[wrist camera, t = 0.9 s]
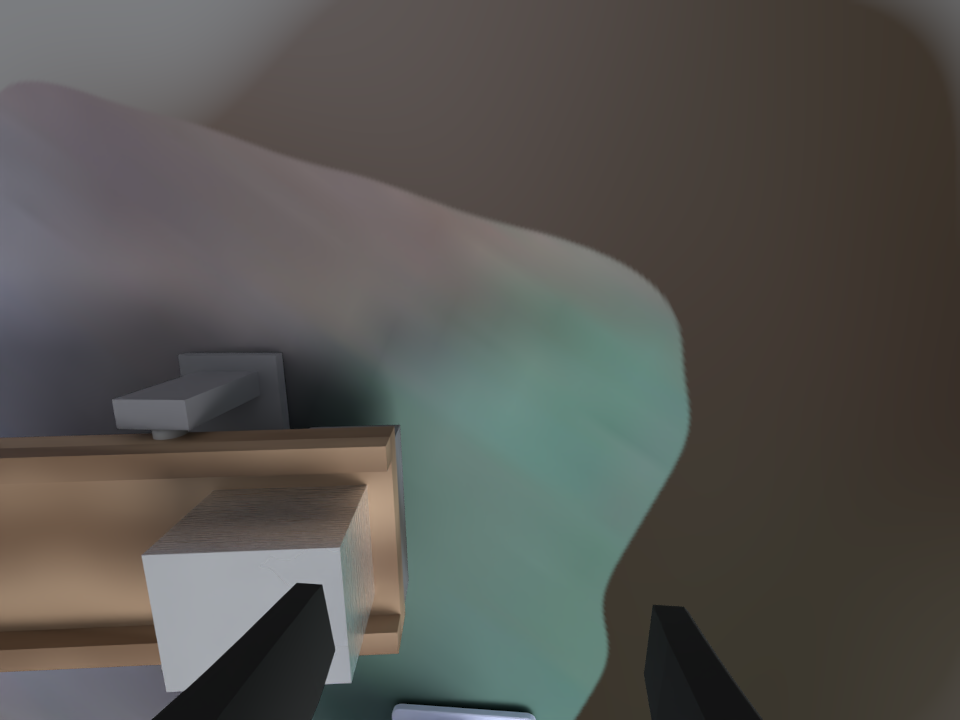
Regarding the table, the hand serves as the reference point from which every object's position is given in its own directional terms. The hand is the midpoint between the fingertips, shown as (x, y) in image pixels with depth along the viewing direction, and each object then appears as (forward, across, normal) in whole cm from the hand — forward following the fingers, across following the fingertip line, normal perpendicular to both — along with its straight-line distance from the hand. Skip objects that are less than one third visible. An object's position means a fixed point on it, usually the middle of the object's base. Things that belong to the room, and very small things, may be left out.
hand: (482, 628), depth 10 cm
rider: (+7, +8, +4) cm, 12 cm away
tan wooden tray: (+8, +16, +5) cm, 18 cm away
